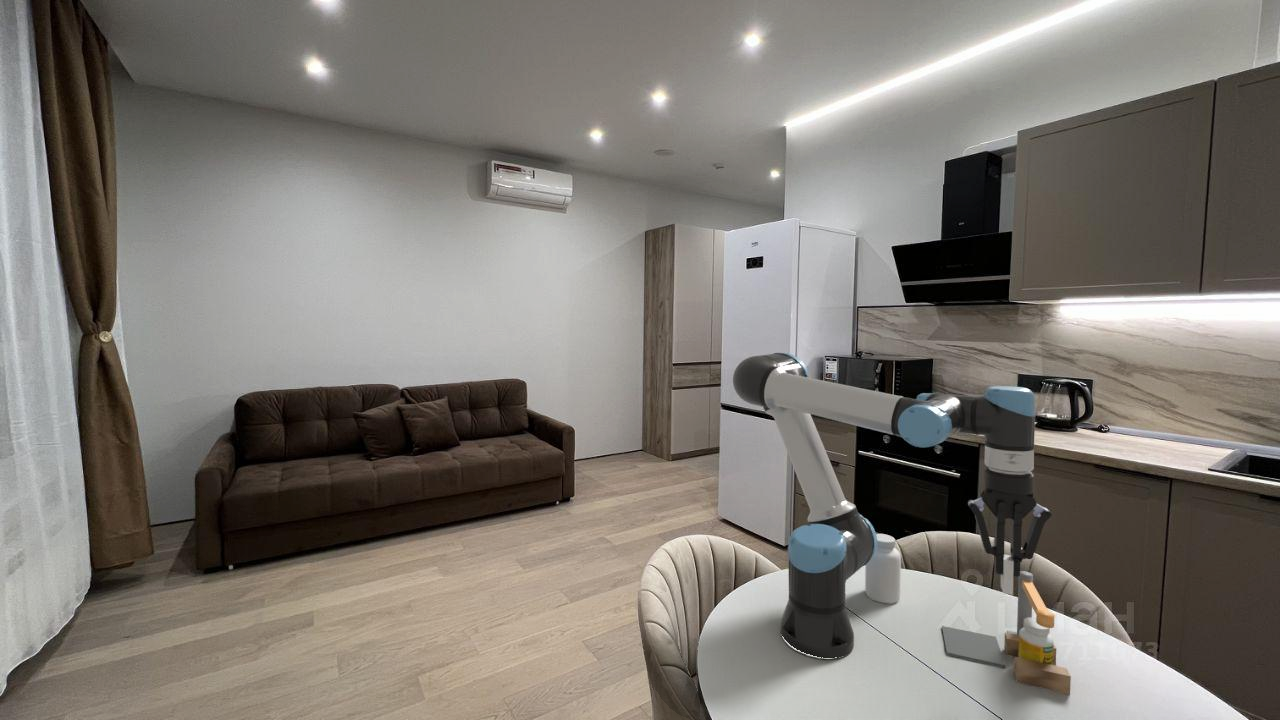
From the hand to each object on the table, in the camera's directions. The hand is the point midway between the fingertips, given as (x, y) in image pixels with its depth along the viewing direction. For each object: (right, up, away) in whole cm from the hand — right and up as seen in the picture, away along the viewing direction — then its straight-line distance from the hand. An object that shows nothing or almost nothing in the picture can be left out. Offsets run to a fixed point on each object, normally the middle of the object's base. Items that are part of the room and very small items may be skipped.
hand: (1006, 590), depth 98 cm
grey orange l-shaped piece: (+8, -15, +4) cm, 18 cm away
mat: (0, -16, +10) cm, 19 cm away
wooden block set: (+9, -16, +5) cm, 19 cm away
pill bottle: (-9, -15, +30) cm, 35 cm away
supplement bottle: (+7, -17, +3) cm, 19 cm away
